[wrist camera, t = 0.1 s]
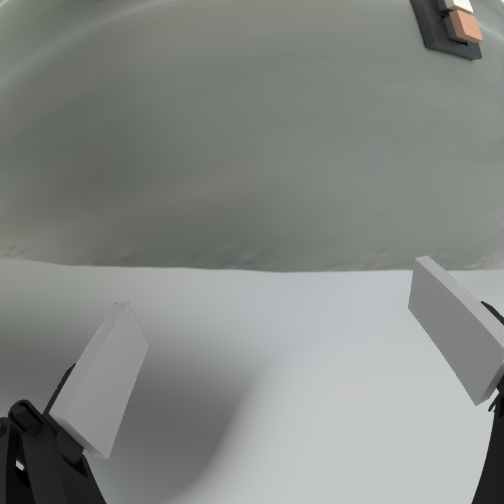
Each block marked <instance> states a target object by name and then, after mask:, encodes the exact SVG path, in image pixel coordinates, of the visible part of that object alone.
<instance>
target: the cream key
mask: <svg viewBox="0 0 504 504" xmlns="http://www.w3.org/2000/svg"><path fill="white" fill-rule="evenodd" d="M435 1H436V4H437V7H438V9H439V12H442V13H445V14H448V15H450V14H449V12H452V11H454V10H456V9H457V10H460V11H462V12H464V13H467V14H472V13H473V10H472V8H471V5H470V3H469V0H435Z"/></svg>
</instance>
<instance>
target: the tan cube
mask: <svg viewBox="0 0 504 504" xmlns="http://www.w3.org/2000/svg"><path fill="white" fill-rule="evenodd" d="M449 14H450V16H448V17H446V18H444V19H442V20H443V23H444V26H445V30H446V33H447V36H448V39H451V40H454V41H457V42H460V43H465V42H469V41H471V42H473V43H478V42H482V41H483V39H482V36H481V32H480V29H479V26H478V24H477V21H476V18H475V17H473V16H471V15H469V14H467V13H464V12H462V11H460V10H457V9H456V10H454V11H452V12H449Z"/></svg>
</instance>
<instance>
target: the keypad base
mask: <svg viewBox="0 0 504 504" xmlns="http://www.w3.org/2000/svg"><path fill="white" fill-rule="evenodd" d="M410 1H411V3H412V6H413V9H414V12H415V15H416V18H417V21H418V24H419V27H420V30H421V33H422V37H423V40H424V44H425V47H426V48H430V49H435V50H439V51H443V52H447V53H450V54H454V55H458V56H461V57H464V58H467V59H471V60H475V59H481V58H482V55H481V51H480V48H479V44H478V43H473V42H471V41H469V42H465V43H460V42H457V41H456V42H454V41H451V40H448V36H447V33H446V30H445V26H444V23H443V20H442V19H444V18H446V17H448V16H450V15H448V14H447V15H446V14H443V13H440V12H439V9H438V7H437V4H436V1H435V0H410Z"/></svg>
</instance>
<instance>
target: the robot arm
mask: <svg viewBox="0 0 504 504" xmlns="http://www.w3.org/2000/svg"><path fill="white" fill-rule="evenodd" d="M408 309H409V310H410V311H411V312H412V314H413V315H414V316H415V317H416V319H417V320H418V322H419V323H420V324H421V326H422V327H423V328H424V330H425V331H426V332H427V334H428V335H429V336H430V338H431V339H432V341H433V342H434V343H435V345H436V346H437V348H438V349H439V350H440V352H441V353H442V355H443V356H444V358H445V359H446V360H447V362H448V363H449V365H450V366H451V368H452V369H453V371H454V372H455V374H456V375H457V377H458V378H459V380H460V382H461V383H462V385H463V386H464V388H465V390H466V391H467V393H468V394H469V396H470V397H471V399H472V401H473V403H474V404H475V406H477V405H479V404H480V403H482V402H484V401H485V400H487V399H489V398H490V396H491V395H492V393H493V392H494V390H495V389H496V388H497V389H498V391H499V394H498V395H497V397H496V398H495V400H494V401H493V402H492V404H491V405H490V407H489V410H488V411H491V410H492V408H493V407H494V406H495V410H494V411H493V412H495V413H494V420H493V426H492V432H491V437H490V442H489V447H488V451H487V456H486V460H485V463H484V467H483V471H482V475H481V477H480V481H479V484H478V487H477V490H476V493H475V496H474V498H473V502H472V504H504V318H503V317H502V316H500V314H499V313H498V312H497V311H496V310H495V309H494V308H493V307H492V306H490V305H489V304H487V303H485V302H483V301H482V302H479V301H478V300H477V299H476V298H475V297H474V296H473V295H472V294H471V293H470V292H469V291H468V290H467V289H466V288H464V287H463V286H462V285H461V284H460V283H459V282H458V281H457V280H456V279H454V278H453V277H452V276H451V275H450V274H449V273H448V272H446V271H445V270H444V269H443V268H442V267H441V266H439V265H438V264H437V263H436V262H435V261H433V260H432V259H431V258H430V257H428V256H423V257H418V258H414V268H413V277H412V284H411V292H410V298H409V305H408ZM148 348H149V346H148V344H147V342H146V340H145V338H144V336H143V334H142V332H141V330H140V327H139V325H138V323H137V321H136V319H135V316H134V314H133V312H132V310H131V307H130V305H129V303H128V302H125V303H115V304H114V306H113V307H112V309H111V310H110V312H109V313H108V315H107V316H106V318H105V319H104V321H103V322H102V324H101V325H100V327H99V328H98V330H97V331H96V333H95V334H94V336H93V338H92V339H91V341H90V342H89V344H88V345H87V347H86V349H85V350H84V352H83V354H82V356H81V357H80V358H79V360H78V362H77V363H75V364H74V365H73V366H72V367H70V368H69V369H68V370H67V371H66V373H65V375H64V376H63V378H62V380H61V381H62V382H60V383H59V385H58V387H57V389H56V390H55V392H54V394H53V396H52V398H51V399H50V401H49V403H48V405H47V407H46V408H45V411H44V412H43V414H42V415H41V414H40V413H39V412H38V410H37V409H36V408H35V407H34V406H33V405H32V404H31V402H29V401H28V400H20V401H18V402H17V403H15V404H14V405H13V406H12V407H11V408H10V410H9V413H8V418H6V417H2V418H0V504H106V502H105V500H104V498H103V496H102V494H101V492H100V490H99V488H98V485H97V483H96V481H95V479H94V476H93V474H92V472H91V469H90V467H89V464H88V462H87V459H86V458H85V456H84V455H83V454H82V452H83V449H85V450H87V451H88V452H89V453H90V454H91V455H92V456H96V457H100V458H104V459H109V456H110V453H111V449H112V446H113V443H114V440H115V437H116V434H117V431H118V428H119V425H120V422H121V420H122V417H123V414H124V411H125V408H126V405H127V402H128V400H129V397H130V394H131V392H132V389H133V386H134V384H135V381H136V378H137V376H138V373H139V370H140V368H141V365H142V363H143V360H144V358H145V355H146V353H147V350H148ZM495 404H496V405H495ZM16 460H17V461H18V462H20V463H21V464H22V465H23V466H24V469H23V471H22V470H20V469H19V468H18V467H17V466H16Z"/></svg>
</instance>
